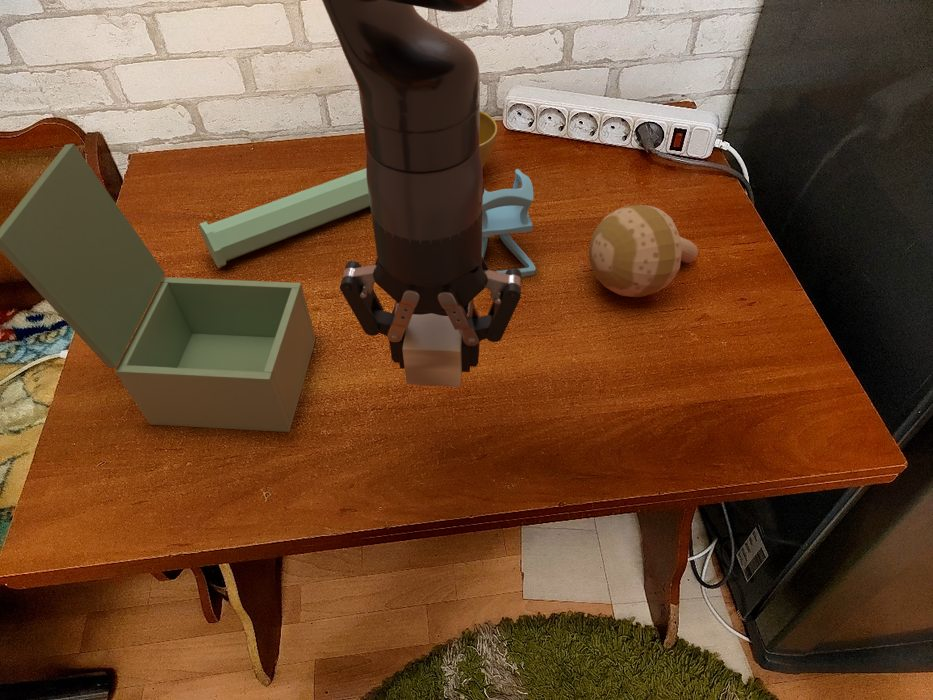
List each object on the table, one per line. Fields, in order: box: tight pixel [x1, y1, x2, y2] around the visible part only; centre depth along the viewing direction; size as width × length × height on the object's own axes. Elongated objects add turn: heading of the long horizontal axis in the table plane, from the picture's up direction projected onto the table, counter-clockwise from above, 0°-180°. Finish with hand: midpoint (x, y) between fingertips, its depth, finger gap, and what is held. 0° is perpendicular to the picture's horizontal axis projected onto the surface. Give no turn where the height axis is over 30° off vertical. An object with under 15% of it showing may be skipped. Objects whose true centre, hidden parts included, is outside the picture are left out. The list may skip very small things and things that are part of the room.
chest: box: [114, 276, 317, 433], centre depth 70 cm, size 15×13×9 cm
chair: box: [482, 168, 537, 278], centre depth 81 cm, size 8×8×12 cm
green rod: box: [198, 167, 371, 269], centre depth 88 cm, size 6×6×25 cm
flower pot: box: [479, 110, 498, 168], centre depth 94 cm, size 10×10×7 cm
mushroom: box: [588, 204, 699, 298], centre depth 80 cm, size 10×11×15 cm
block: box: [402, 313, 463, 388], centre depth 57 cm, size 5×5×5 cm
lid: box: [0, 143, 165, 369], centre depth 61 cm, size 16×13×1 cm
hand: (436, 362), depth 59 cm, fingers closed on block, 4 cm apart
